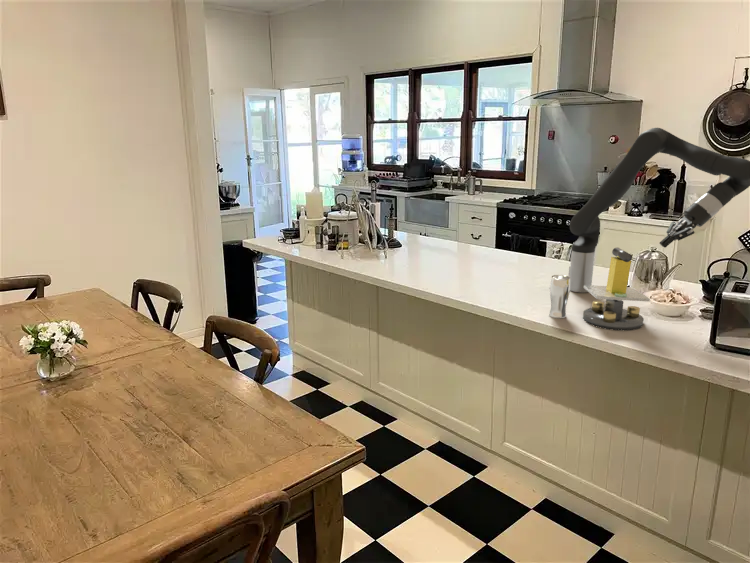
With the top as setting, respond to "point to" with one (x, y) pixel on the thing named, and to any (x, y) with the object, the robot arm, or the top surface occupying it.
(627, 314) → the disc with brass knobs
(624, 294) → the yellow block with roller
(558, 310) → the beer glass
